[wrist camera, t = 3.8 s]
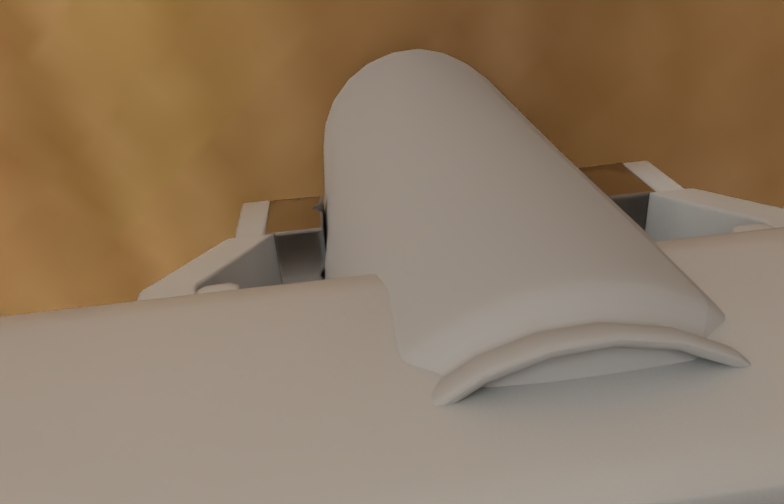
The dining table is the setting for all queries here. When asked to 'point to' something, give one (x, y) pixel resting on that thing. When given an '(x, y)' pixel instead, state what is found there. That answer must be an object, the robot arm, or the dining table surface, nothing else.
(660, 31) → the dining table surface
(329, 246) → the beverage can
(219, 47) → the dining table surface
